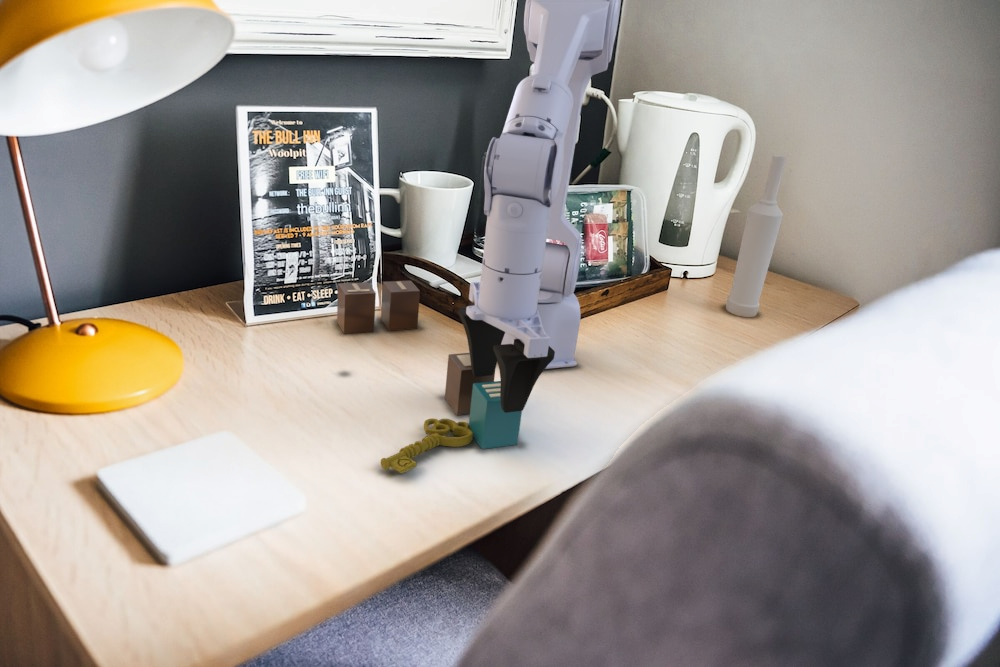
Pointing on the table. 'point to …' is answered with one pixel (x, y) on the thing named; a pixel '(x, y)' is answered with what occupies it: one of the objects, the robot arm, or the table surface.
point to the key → (430, 443)
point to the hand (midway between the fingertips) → (497, 391)
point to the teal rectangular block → (492, 417)
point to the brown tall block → (461, 382)
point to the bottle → (757, 246)
